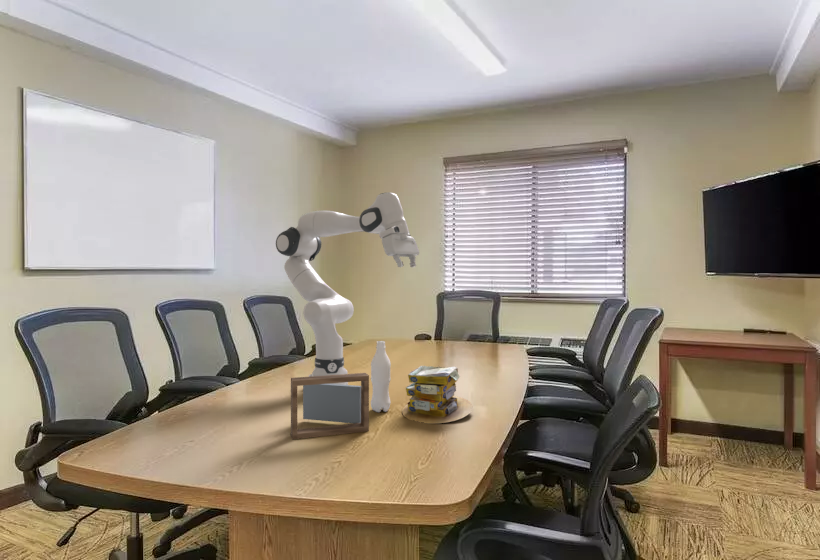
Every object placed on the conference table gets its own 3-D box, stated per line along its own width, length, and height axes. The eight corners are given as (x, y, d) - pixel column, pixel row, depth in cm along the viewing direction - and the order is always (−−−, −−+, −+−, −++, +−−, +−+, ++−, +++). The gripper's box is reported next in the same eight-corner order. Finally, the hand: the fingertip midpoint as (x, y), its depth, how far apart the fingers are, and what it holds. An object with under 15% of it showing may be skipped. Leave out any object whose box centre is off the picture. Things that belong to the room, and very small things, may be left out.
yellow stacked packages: (443, 429, 161) (443, 377, 161) (387, 414, 178) (388, 367, 177) (485, 413, 179) (486, 366, 179) (432, 400, 196) (432, 358, 196)
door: (305, 417, 169) (305, 382, 169) (361, 422, 164) (361, 386, 164) (303, 419, 168) (303, 383, 167) (359, 424, 162) (359, 387, 162)
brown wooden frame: (290, 434, 155) (290, 377, 154) (365, 426, 163) (365, 372, 162) (292, 439, 150) (292, 380, 150) (368, 430, 159) (368, 375, 158)
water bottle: (393, 408, 184) (393, 340, 183) (386, 414, 177) (386, 343, 177) (375, 406, 186) (375, 339, 186) (367, 412, 179) (367, 342, 179)
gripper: (404, 237, 202) (413, 269, 200) (376, 233, 185) (386, 269, 183) (417, 231, 199) (427, 264, 197) (390, 227, 182) (400, 263, 180)
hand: (407, 266), depth 190 cm, fingers open, 8 cm apart
